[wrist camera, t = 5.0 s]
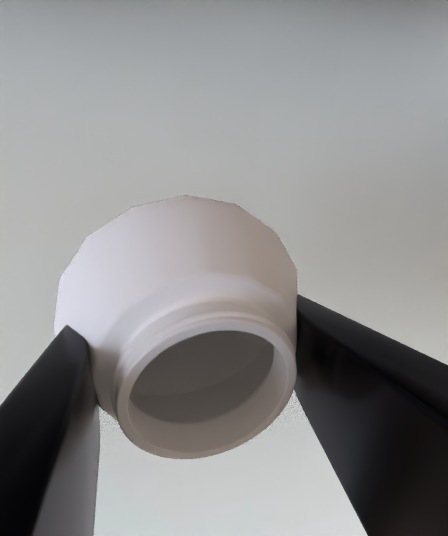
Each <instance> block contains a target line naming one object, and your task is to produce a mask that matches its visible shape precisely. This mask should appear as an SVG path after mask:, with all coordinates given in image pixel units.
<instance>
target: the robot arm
mask: <svg viewBox="0 0 448 536" xmlns="http://www.w3.org/2000/svg"><path fill="white" fill-rule="evenodd" d="M296 317H297V345H296V353H295V357H296V367H297V376H296V383H295V387H294V390H295V393H296V395H297V398H298V400H299V402H300V404H301V406H302V408H303V410H304V412H305V414H306V416H307V418H308V420H309V422H310V424H311V426H312V428H313V430H314V432H315V434H316V436H317V438H318V440H319V441H320V443H321V445H322V447H323V449H324V451H325V453H326V455H327V457H328V459H329V461H330V463H331V465H332V467H333V469H334V471H335V473H336V475H337V477H338V478H339V480H340V482H341V484H342V486H343V488H344V490H345V492H346V494H347V496H348V498H349V500H350V502H351V504H352V506H353V508H354V510H355V512H356V514H357V516H358V517H359V519H360V521H361V523H362V525H363V527H364V529H365V531H366V533H367V535H368V536H448V365H446V364H444V363H442V362H440V361H438V360H436V359H433V358H431V357H429V356H427V355H425V354H423V353H421V352H419V351H417V350H414V349H412V348H410V347H408V346H406V345H404V344H402V343H400V342H398V341H396V340H393V339H391V338H389V337H387V336H385V335H383V334H381V333H379V332H377V331H374V330H372V329H370V328H368V327H366V326H364V325H362V324H360V323H358V322H355V321H353V320H351V319H349V318H347V317H345V316H343V315H341V314H339V313H337V312H334V311H332V310H330V309H328V308H326V307H324V306H322V305H320V304H318V303H315V302H313V301H311V300H309V299H307V298H305V297H303V296H301V295H299V294H297V308H296ZM99 453H100V420H99V405H98V402H97V398H96V393H95V388H94V383H93V377H92V370H91V362H90V353H89V345H88V342H87V340H86V339H85V338H84V337H83V336H81V335H80V334H79V333H77V332H76V331H75V330H74V329H72V328H71V327H70V326H68V325H65V326H64V328H63V329H62V330H61V331H60V332H59V334H58V335H57V336H56V337H55V339H54V340H53V341H52V342H51V344H50V345H49V346H48V347H47V349H46V350H45V351H44V352H43V353H42V355H41V356H40V357H39V358H38V360H37V361H36V362H35V363H34V365H33V366H32V367H31V368H30V369H29V371H28V372H27V373H26V374H25V376H24V377H23V378H22V379H21V381H20V382H19V383H18V384H17V386H16V387H15V388H14V389H13V390H12V392H11V393H10V394H9V395H8V397H7V398H6V399H5V400H4V402H3V403H2V404H1V405H0V536H93V534H94V520H95V507H96V493H97V480H98V466H99Z"/></svg>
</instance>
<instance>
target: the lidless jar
mask: <svg viewBox="0 0 448 536" xmlns="http://www.w3.org/2000/svg"><path fill="white" fill-rule="evenodd" d="M296 308H297V269H296V268H295V266H294V264H293V262H292V260H291V258H290V257H289V255H288V253H287V251H286V249H285V247H284V246H283V244H282V242H281V240H280V238H279V236H278V235H277V234H276V233H275V232H274V231H273V230H272V228H270V227H269V226H267V225H266V224H264V223H263V222H261V221H260V220H258V219H257V218H255V217H254V216H253V215H251V214H250V213H248V212H247V211H245V210H244V209H242V208H241V207H239V206H238V205H236V204H233V203H228V202H222V201H216V200H210V199H205V198H199V197H193V196H187V195H185V196H180V197H175V198H171V199H166V200H161V201H157V202H152V203H147V204H143V205H138V206H133V207H131V208H130V209H128V210H127V211H125V212H124V213H122V214H121V215H119V216H118V217H116V218H115V219H113V220H112V221H110V222H108V223H107V224H105V225H104V226H102V227H101V228H99V229H98V230H96V231H95V232H93V233H92V234H90V235H89V236H87V237H86V239H85V240H84V242H83V243H82V245H81V247H80V248H79V250H78V251H77V253H76V254H75V256H74V257H73V259H72V260H71V262H70V263H69V265H68V266H67V268H66V270H65V271H64V273H63V274H62V276H61V277H60V280H59V288H58V297H57V306H56V315H55V325H54V335H55V337H56V336H57V335H58V334H59V332H60V331H61V330H62V329H63V328H64V326H65V325H68V326H70V327H71V328H72V329H74V330H75V331H76V332H77V333H79V334H80V335H81V336H83V337H84V338H85V339H86V340H87V342H88V345H89V353H90V362H91V370H92V377H93V383H94V388H95V393H96V398H97V402H98V405H99V406H100V407H101V408H102V409H103V410H104V411H105V412H107V413H108V414H109V415H111V416H112V417H113V418H114V419H116V420H117V421H118V423H119V425H120V427H121V429H122V431H123V433H124V434H125V435H126V437H127V438H128V439H129V440H130V441H131V442H132V443H134V444H135V445H136V446H138V447H139V448H141V449H142V450H144V451H146V452H149V453H151V454H154V455H157V456H161V457H166V458H173V459H194V458H202V457H207V456H212V455H216V454H219V453H222V452H225V451H228V450H231V449H233V448H235V447H237V446H239V445H241V444H243V443H245V442H247V441H249V440H250V439H252V438H253V437H255V436H256V435H258V434H259V433H261V432H262V431H263V430H264V429H266V428H267V427H268V426H269V425H270V424H271V423H272V422H273V421H274V420H275V419H276V418H277V417H278V416H279V414H280V413H281V412H282V410H283V409H284V408H285V406H286V405H287V403H288V401H289V399H290V397H291V395H292V392H293V390H294V387H295V383H296V376H297V367H296V357H295V353H296V345H297V317H296Z"/></svg>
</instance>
